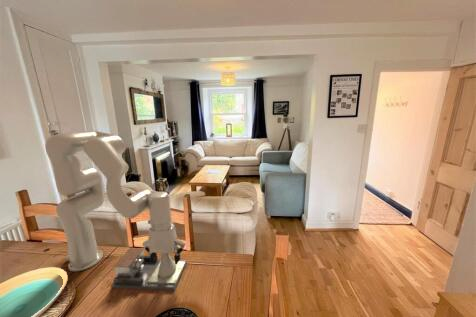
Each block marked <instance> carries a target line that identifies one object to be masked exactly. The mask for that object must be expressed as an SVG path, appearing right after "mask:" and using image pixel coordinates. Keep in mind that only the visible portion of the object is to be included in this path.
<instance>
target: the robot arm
mask: <svg viewBox="0 0 476 317" xmlns="http://www.w3.org/2000/svg"><path fill="white" fill-rule="evenodd" d="M44 145H45V146H44V147H45V152H46V155H47V156H48V158H49V161H50V162H51V164H52V170H53V174H54V176H53V177H54V180H55V185H56V189H57V192H58V193H59V195H61V196H64V197H67V198H64V199H63V200H61V201H59V203H57V205H56V207H55V213H56V216H57V217H58V219H59V220H60V222H61V225H62V228H63V231H64V236H65V240H66V243H67V245H68V246H67V247H68V252H66V254H67V255H66V256H64V258H65V259H67V260H69V263H68V265H67V266H68V270H69V271H70V272H80V271H85V270H87V269H89V268H91V267H93V266H95V265H96V264H98V263H99V262H100V261H101V260H102V258H103V256H104V253H103V251H102V250H100V249H98V244H97V241H96V235H95V230H94V225H93V222H92V221H91V219H88V218H87V217H86V215H87V214H89V213H91V212H93V211H95V210H98V209H99V208H101V207H102V206H103V204H104V202H105V194H104V186H103V180H102V176H101V173H102V175H103V176H104V178H106V194H107V199H108V201H109V202H110V204H111V205H112V206H113V207H114V208H113V209H115V210H116V211H117V212H118V214H120V215H121V216H122V217H123V218H126V219H134V218H136V217H138V216H140V215H141V214H143V213H144V212H145V211H147V210H148V212H149V220H147V224H148V225H150V227H149V229H148V236H147V237H148V239H146V240H144V241H143V242H142V244H141V245H142V247H143V248H144V251H146V252H147V253H148V256H150V258H151V262H152V263H154V262H155V260H156V259H157V257H158V255H157V254H161V253H169V254H174V255H173V256H174V257H173V258H174V259H173V260H175V264H177V263H178V261H180V260H181V253H182V252H183V250H184V248H185V246H186V242H185V241H182V240H180V239H178V236H177V231H176V227H175V225H174V224H173V222H172V221H173V219H172V210H171V209H172V208H171V201H170V194H169V193H168V192H166V191H156V190H153V189H150V188H143V189H141V190H138V191H137V192H135V193H133V194H131V195H129V196H128V195H127V193H126V192H125V191H124V189H123V187H122V178H123V176H124V175H125V174H126V173H127V172H128V171H129V168H130V167H129V165H128V163H127V162H126V161H125V159H124V158H123V157H122V156H121V155H122V154H124V153H125V151H126V147H127V146H126V144H125V141H124V140H123V138H121V137H120V136H118V135H116V134H113V133H112V134H111V133H108V132H107V133H106V132H102V131H97V130H87V131H71V132H69V131H68V132H63V133H62V132H61V133H58V134H57V133H56V134H53V135H51V136H49V137H48V138H47V139H46V142H45V144H44ZM83 153H85V154H86V156H87V157H88V158H89V160H91V162H92V163H93V164H94V165H95V166H96V167H97V168H98V169H96V168H94V167H83V168H82V165H81V161H80V159H79V158H78V157H77V156H76V155H77V154H83ZM98 170H99V171H100V172H101V173H100V172H99V171H98Z"/></svg>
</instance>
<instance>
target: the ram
mask: <svg viewBox="0 0 476 317" xmlns="http://www.w3.org/2000/svg"><path fill="white" fill-rule="evenodd" d="M144 256H145V248H144V247H143V248H140V247H138V248H136V247H129V248H128V250H126V251H125V253H124V254H123V255H122V256H121V257H120V258H119V260H117V262H116V263H115V264H114V265H113V267H114V272H115V277H126V278H134V276H135V275H136V273H137V272H138V271H139V270H141V269H142V268H143V266H144V262H145V257H144Z"/></svg>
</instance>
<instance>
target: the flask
mask: <svg viewBox="0 0 476 317" xmlns="http://www.w3.org/2000/svg"><path fill="white" fill-rule="evenodd" d="M160 254H161V258H160V259H161V264H160V267H159V271H158V276H160V277H169V276H171V275H172V274H173V273H174V272H175V271H176V265H175V263H174V262H173V260H174V259H172V257H171V256H170V253H160Z"/></svg>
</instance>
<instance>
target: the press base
mask: <svg viewBox="0 0 476 317" xmlns="http://www.w3.org/2000/svg"><path fill="white" fill-rule="evenodd" d="M144 257H145V262H144V266H143V268H142V269H141V270H139V271H138V272H137V273H136V275H135V276H134V278H126V277H116V276H115V277H114V278H113V280H112V281H113V282H112V283H110V287H111V288H112V289H124V290H125V289H127V290H129V289H130V290H149V291H150V290H151V291H166V292H167V291H168V292H169V291H170V292H171V291H172V292H175V290H176V288H177V285H178V284H179V281H180V279H181V277H182V274H183V272H184V270H185V268H186V265H187V264H188V263H187V259H180V261H178V263H177V264H175V265H176V271H175V272H174V273H173V274H172V275H171V276H169V277H160V276H158V271H159V267H160V264H161V258H160V259H159V258H158V256H157V259H156V260H155V262H154V263H152V262H151V258H150V255H144ZM172 260H173V262H174V263H175V259H172Z"/></svg>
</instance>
